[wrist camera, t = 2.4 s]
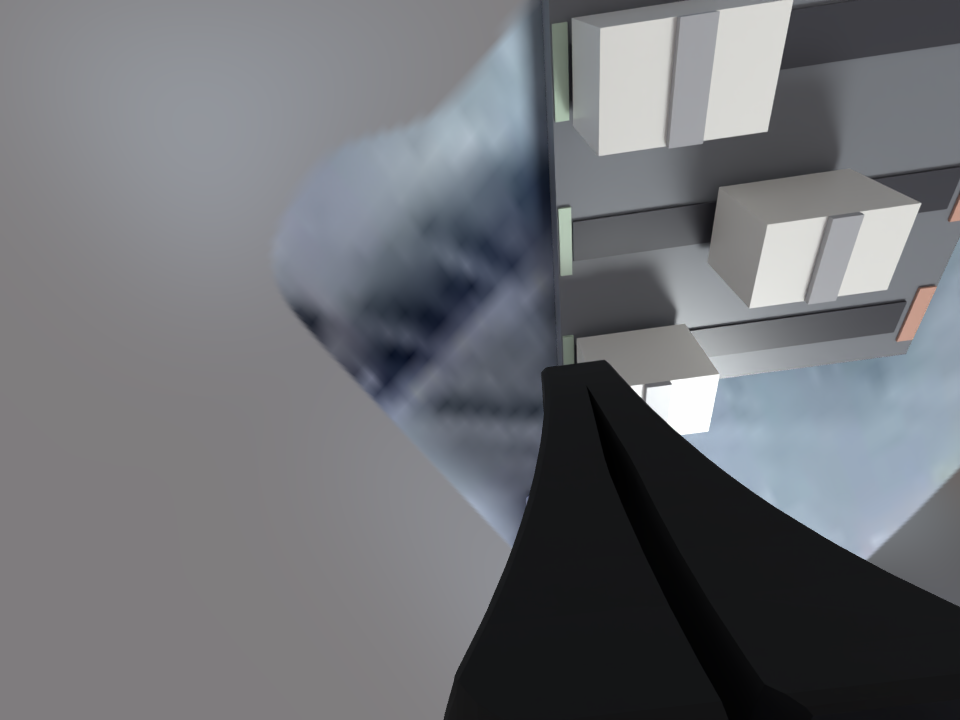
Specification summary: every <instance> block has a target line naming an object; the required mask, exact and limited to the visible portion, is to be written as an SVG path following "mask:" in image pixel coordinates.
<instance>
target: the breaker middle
mask: <svg viewBox="0 0 960 720" xmlns="http://www.w3.org/2000/svg"><path fill="white" fill-rule="evenodd" d="M920 206H921V203H920V202H918V201H916V200H914V199H912V198H910V197H908V196H906V195H904V194H902V193H900V192H897V191H895V190H893V189H891V188H889V187H887V186H885V185H883V184H881V183H879V182H877V181H875V180H873V179H871V178H868V177H866V176H864V175H862V174H860V173H858V172H856V171H854V170H852V169H850V168H849V169H842V170H835V171H828V172H821V173H814V174H807V175H800V176H793V177H786V178H779V179H772V180H765V181H758V182H751V183H744V184H737V185H730V186H723V187H719V191H718V198H717V204H716V211H715V217H714V224H713V230H712V237H711V243H710V250H709V256H708V264H709V265H710V266H711V267H712V268H713V269H714V270H715V272H716V273H717V274H718V275H719V276H720V277H721V278H722V279H723V280H724V281H725V282H726V284H727V285H728V286H729V287H730V288H731V289H732V290H733V291H734V292H735V293H736V295H737V296H738V297H739V298H740V299H741V300H742V301H743V302H744V303H745V304H746V305H747V307H748V308H757V307H764V306H771V305H779V304H786V303H793V302H801V301H805V302H806V303H807V304H816V303H823V302H830V301H836V299H837V296H845V295H852V294H859V293H867V292H874V291H881V290H887V289H888V286H889V284H890V281H891V279H892V276H893V274H894V271H895V269H896V266H897V264H898V261H899V259H900V256H901V253H902V251H903V248H904V246H905V243H906V241H907V238H908V236H909V233H910V231H911V228H912V226H913V223H914V221H915V218H916V216H917V213H918V211H919V208H920Z"/></svg>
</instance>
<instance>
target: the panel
mask: <svg viewBox="0 0 960 720" xmlns="http://www.w3.org/2000/svg"><path fill="white" fill-rule="evenodd" d="M679 1H686V0H542V19H543V42H544V64H545V87H546V110H547V133H548V156H549V178H550V201H551V224H552V247H553V270H554V292H555V315H556V338H557V361H558V366H561V365H568V364H576V363H577V338H583V337H590V336H597V335H605V334H612V333H620V332H627V331H634V330H642V329H649V328H656V327H664V326H671V325H678V324H685V325H686V326H687V327H688V329H689V330H690V332H691V333H692V335H693V336H694V338H695V339H696V340H697V342H698V343H699V345H700V346H701V348H702V349H703V351H704V352H705V353H706V355H707V356H708V358H709V359H710V361H711V362H712V364H713V365H714V367H715V368H716V369H717V371H718V372H719V374H720V375H719V379H722V378H729V377H737V376H744V375H752V374H759V373H767V372H774V371H782V370H789V369H797V368H804V367H812V366H819V365H827V364H834V363H842V362H850V361H857V360H865V359H872V358H880V357H887V356H895V355H902V354H906V353H907V350H908V348H909V346H910V344H911V342H912V340H913V338H914V335H915V333H916V331H917V329H918V327H919V325H920V322H921V320H922V318H923V316H924V314H925V312H926V309H927V307H928V305H929V303H930V301H931V299H932V296H933V294H934V292H935V290H936V288H937V285H938V283H939V281H940V279H941V277H942V274H943V272H944V270H945V268H946V266H947V264H948V261H949V259H950V257H951V255H952V253H953V251H954V248H955V246H956V244H957V242H958V240H959V238H960V0H793V4H792V9H791V15H790V20H789V25H788V30H787V35H786V40H785V45H784V50H783V55H782V60H781V65H780V70H779V76H778V81H777V86H776V91H775V96H774V101H773V106H772V111H771V116H770V121H769V126H768V131H767V132H761V133H754V134H747V135H740V136H733V137H727V138H720V139H713V140H706V141H703V144H697V145H690V146H683V147H676V148H670V149H669V148H667V147H666V146H665V147H658V148H651V149H644V150H637V151H630V152H624V153H617V154H610V155H603V156H598V155H597V153H596V152H595V151H594V150H593V149H592V148H591V146H590V145H589V144H588V143H587V142H586V141H585V139H584V138H583V137H582V136H581V135H580V134H579V132H578V131H577V130H576V129H575V128H574V126H573V74H572V18H575V17H581V16H588V15H594V14H601V13H607V12H614V11H620V10H627V9H634V8H640V7H647V6H653V5H660V4H666V3H673V2H679ZM849 168H850V169H852V170H854V171H856V172H858V173H860V174H862V175H864V176H866V177H868V178H871V179H873V180H875V181H877V182H879V183H881V184H883V185H885V186H887V187H889V188H891V189H893V190H895V191H897V192H900V193H902V194H904V195H906V196H908V197H910V198H912V199H914V200H916V201H918V202H920V203H921V206H920V208H919V211H918V213H917V216H916V218H915V221H914V223H913V226H912V228H911V231H910V233H909V236H908V238H907V241H906V243H905V246H904V248H903V251H902V253H901V256H900V259H899V261H898V264H897V266H896V269H895V271H894V274H893V276H892V279H891V281H890V284H889V286H888V289H887V290H881V291H874V292H867V293H859V294H852V295H845V296H837V299H836V301H830V302H823V303H816V304H807V303H806V302H805V301H801V302H793V303H786V304H779V305H771V306H764V307H757V308H748V307H747V305H746V304H745V303H744V302H743V301H742V300H741V299H740V298H739V297H738V296H737V295H736V293H735V292H734V291H733V290H732V289H731V288H730V287H729V286H728V285H727V284H726V282H725V281H724V280H723V279H722V278H721V277H720V276H719V275H718V274H717V273H716V272H715V270H714V269H713V268H712V267H711V266H710V265H709V264H708V256H709V250H710V243H711V237H712V230H713V224H714V217H715V211H716V204H717V198H718V191H719V187H723V186H730V185H737V184H744V183H751V182H758V181H765V180H772V179H779V178H786V177H793V176H800V175H807V174H814V173H821V172H828V171H835V170H842V169H849Z"/></svg>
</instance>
